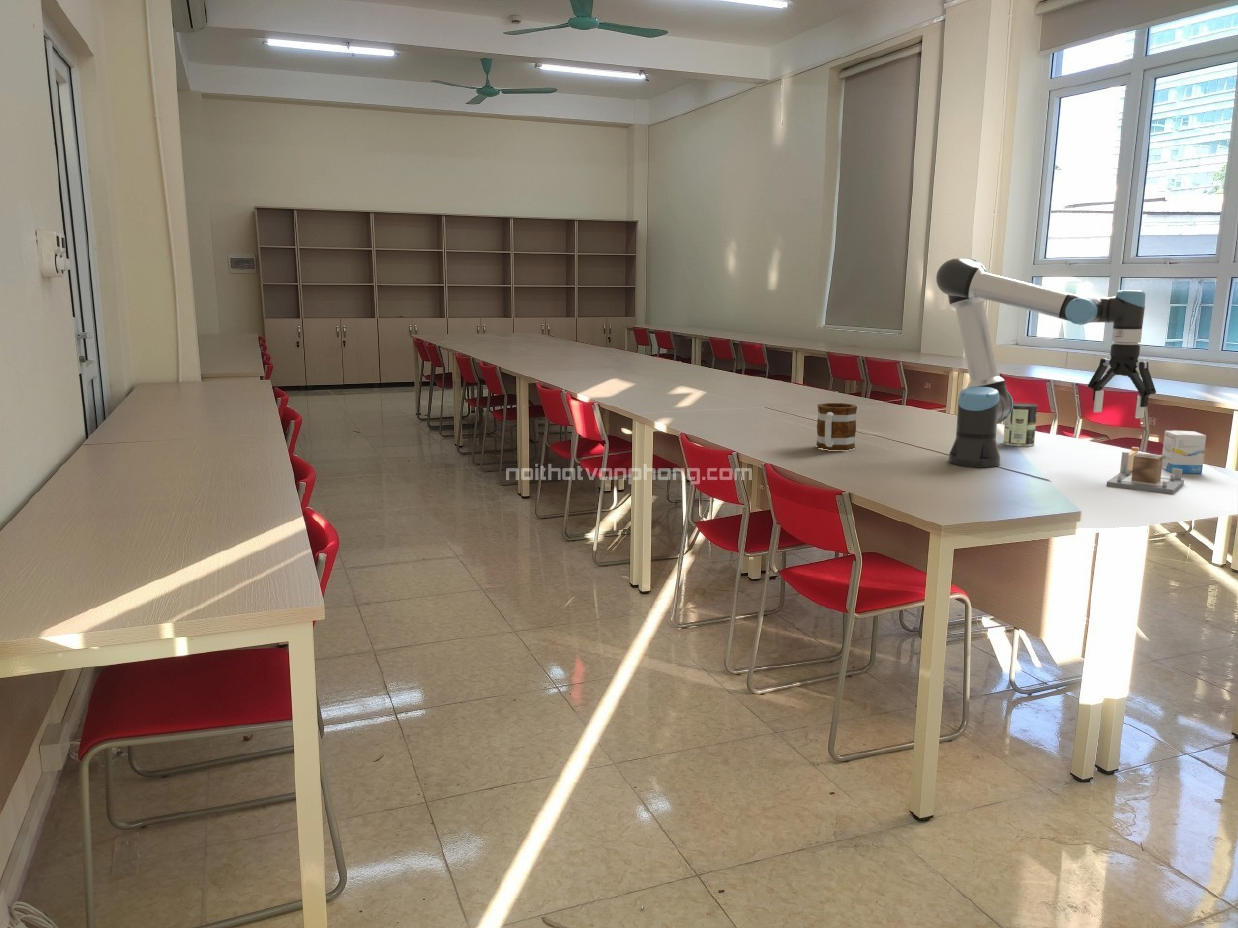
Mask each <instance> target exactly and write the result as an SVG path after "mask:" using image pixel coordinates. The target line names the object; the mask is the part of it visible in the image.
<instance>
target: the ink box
mask: <svg viewBox="0 0 1238 928" xmlns="http://www.w3.org/2000/svg"><path fill="white" fill-rule="evenodd" d="M1206 441H1207V435H1206V434H1203V433H1200V432H1197V431H1193V430H1192V431H1191V430H1164V436H1163V445H1162V453H1161V455H1163V461H1162V470H1165V471H1167V472H1169V473H1171V474H1172V468H1174V469H1182V474H1200V473H1202V474H1203V467H1204V466H1203V465H1204V458H1205V448H1206V443H1207V442H1206Z"/></svg>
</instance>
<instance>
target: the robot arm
mask: <svg viewBox="0 0 1238 928" xmlns="http://www.w3.org/2000/svg"><path fill="white" fill-rule="evenodd" d="M935 280H936V285H937V287H938V288H939V290H940V291H941V292H942V293H944V294H945V295H947V297H948V303H949V306H950V307H952V308H954V309H955V312H956V317H957V320H958V322H957V323H958V326H959V330H960V335H961V336H960V337H961V341H962V346H963V350H964V355H965V361H966V366H967V371H968V376H969V380H970V382H969V383H968V384H967V386H966V388H963V389H962V390H961V391H960V392H959V394H958V398H957V417H956V431H955V432H956V434H955V439H954V442H953V444H952V446H951V449H950V451H949V453H948V462H949V463H950V464H953V465H956V466H957V465H958V466H963V467H972V468H973V467H974V468H991V467H992V468H993V467H997V466H1000V464H1001V454H1000V452H999V448H998V444H997V443H998V442H997V440H996V439H997V426H998V424H1001V423H1002V422H1005V419H1006V418H1007V417H1008V416H1009V414H1010V413H1011V411H1012V408H1013V403H1014V400H1013V397H1012V395H1011V394H1010V392H1009V391H1008V390H1007V386H1006V380H1005V379H1004V378H1003V377H1001V376H1000V375H999V372H998V367H997V366H998V365H997V360H996V356H995V351H994V347H993V342H992V336H991V331H990V326H989V323H988V322H989V321H988V316H987V311H986V307H985V302H986V300H988V301H991V302H996V303H999V304H1002V305H1007V306H1011V307H1015V308H1019V309H1023V310H1026V311H1030V312H1034V313H1038V314H1042V315H1045V316H1049V317H1053V318H1057V319H1061V320H1064V321H1067V322H1070V323H1072V324H1074V325H1080V326H1083V325H1087V324H1091V323H1108V324H1110V323H1111V324H1112V323H1113V326H1112V337H1111V342H1112V343H1111V345H1110V354H1109V355H1110V359H1109V358H1108V357H1107V358H1105V357H1104V358H1101V359H1099V364H1098V367H1097V369H1096V370H1095V372H1094V373H1093V376H1092V377H1091V378H1090V381H1089V382H1088V384H1087V388H1089V389H1092V392H1093V393H1092V401H1093V402H1094V403H1093V404H1094V405H1093V413H1102V411H1103V404H1104V403H1103V402H1104V396H1105V395H1104V390H1103V389H1104V387H1106V385H1107V384H1108V383H1109V382H1110V381H1111V380H1112V379H1113V378H1114V377H1115V376H1124V377H1126V376H1127V377H1128V378H1129V379H1130V380H1131V382H1132V384H1133V385H1134V387H1135V388H1136V390H1137V391H1138V393H1139V395H1137V398H1136V399H1137V400H1136V406H1135V416H1134V418H1135V419H1143V418H1145V410H1146V409H1145V408H1147V407H1148V406H1149V405H1148V403H1149V397H1150V396H1152V395H1155V394H1157V390H1156V387H1155V384H1154V382H1153V379H1152V375H1151V373H1150V370H1149V361H1147V360H1146V361H1139V360H1138V359H1139V357H1140V352H1141V345H1140V343H1141V342H1142V336H1143V335H1142V334H1143V326H1144V318H1145V317H1144V316H1145V310H1146V292H1145V291H1143V290H1139V289H1138V290H1134V289H1132V290H1131V289H1128V290H1124V289H1123V290H1121V289H1119V290H1118V291H1117V292H1116V295H1115V296H1109V297H1108V296H1082V295H1078V294H1073V293H1069V292H1065V291H1061V290H1058V289H1057V290H1056V289H1054V288H1053V289H1052V288H1049V287H1045V286H1041V285H1036V284H1033V283H1028V282H1026V281H1021V280H1017V279H1013V278H1009V277H1004V276H1002V275H1001V276H1000V275H997V274H992V273H989V272H987V269H986V266H984V265H983V264H982V263H981V262H980V261H977V260H976V259H972V258H950V259H948V260H947V261H945V262H944V263H942V265H941V266H940V267H939V268H938V270H937V272H936V277H935ZM1109 366H1110V368H1109V369H1108V367H1109ZM1107 369H1108V370H1107ZM1137 369H1138V370H1137Z"/></svg>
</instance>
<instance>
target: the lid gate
mask: <svg viewBox="0 0 1238 928" xmlns="http://www.w3.org/2000/svg"><path fill="white" fill-rule="evenodd" d="M1139 451H1140V447H1138V446H1132V447H1131V451H1129V459H1128V468H1127V470H1131V471H1130V473H1132V469H1133V460H1134V456H1135V455H1136V454H1138V453H1139Z"/></svg>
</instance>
